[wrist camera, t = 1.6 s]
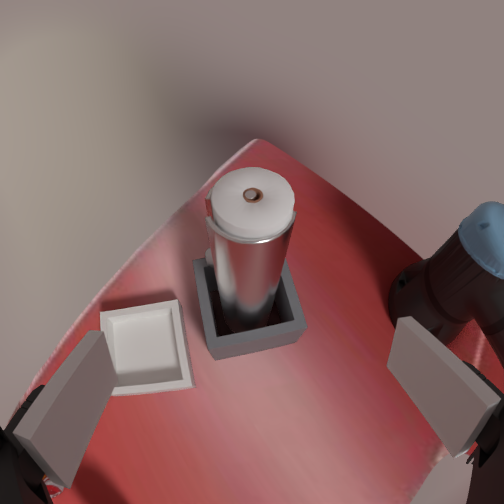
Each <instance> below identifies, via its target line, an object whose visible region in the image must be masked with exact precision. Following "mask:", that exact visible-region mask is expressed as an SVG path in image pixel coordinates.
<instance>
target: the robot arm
mask: <svg viewBox="0 0 504 504" xmlns="http://www.w3.org/2000/svg"><path fill="white" fill-rule="evenodd" d="M389 312H390V316H391V319H392V322H393V324H394V326H395V328H396V330H395V334H394V339H393V343H392V347H391V351H390V355H389V359H388V363H387V367H388V369H389V370H390V371H391V373H392V374H393V375H394V377H395V378H396V379H397V381H398V382H399V383H400V385H401V386H402V387H403V389H404V390H405V391H406V393H407V394H408V395H409V397H410V398H411V399H412V401H413V402H414V403H415V405H416V406H417V408H418V409H419V410H420V412H421V413H422V414H423V416H424V417H425V419H426V420H427V421H428V423H429V424H430V425H431V427H432V428H433V430H434V431H435V432H436V434H437V435H438V437H439V438H440V440H441V441H442V442H443V444H444V445H445V447H446V448H447V450H448V451H449V452H450V454H451V455H452V457H453V458H456V457H458V456H460V455H461V454H463V453H465V452H467V451H468V450H469V449H470V447H471V446H472V444H473V443H474V442H475V441H476V442H477V444H478V446H477V447H476V449H475V450H474V451H473V453H472V454H471V455H470V457H469V458H468V459H467V462H466V464H468V463H469V462H470V461H471V459H472V458H473V457H474V461H473V462H472V464H473V470H472V477H471V483H470V488H469V493H468V498H467V503H466V504H504V394H503V393H502V392H501V391H500V390H499V389H498V388H497V387H496V386H495V385H494V384H493V383H491V382H490V381H489V380H488V379H486V377H485V376H484V375H483V374H481V372H480V371H479V370H477V369H476V368H475V367H474V366H473V365H471V364H469V363H467V362H465V361H461V360H460V359H459V358H458V357H457V356H456V355H455V354H453V353H452V352H451V351H450V350H449V349H448V348H447V347H446V345H447V344H449V343H450V342H452V341H453V340H454V339H455V338H456V336H457V335H458V334H459V333H460V332H461V330H462V329H463V328H464V326H465V325H466V324H467V323H468V322H469V321H471V320H472V319H475V320H476V322H477V323H478V325H479V326H480V328H481V330H482V331H483V333H484V335H485V336H486V338H487V340H488V341H489V343H490V345H491V347H492V348H493V350H494V352H495V354H496V355H497V357H498V359H499V361H500V363H501V365H502V366H503V368H504V204H501V203H499V202H485V203H483V204H481V205H479V206H478V207H477V208H476V209H475V210H474V211H473V212H472V213H471V214H470V215H469V216H468V217H466V218H465V219H463V221H462V222H461V223H460V225H459V228H458V229H457V230H456V231H455V233H454V234H453V235H452V236H451V237H450V238H449V239H448V240H447V241H446V242H445V243H444V244H443V245H442V246H441V247H440V248H439V249H438V250H437V251H436V252H435V254H434V255H433V256H432V257H431V258H428V259H425V260H422V261H419V262H417V263H414V264H411V265H409V266H408V267H406V268H405V269H404V270H403V271H402V272H401V273H400V274H399V275H398V276H397V277H396V278H395V280H394V281H393V283H392V286H391V288H390V292H389ZM117 381H118V378H117V375H116V372H115V369H114V366H113V362H112V359H111V356H110V352H109V349H108V345H107V341H106V338H105V334H104V331H94V330H89V331H88V332H87V334H86V335H85V336H84V337H83V339H82V340H81V341H80V342H79V343H78V345H77V346H76V347H75V348H74V350H73V351H72V352H71V353H70V355H69V356H68V357H67V358H66V360H65V361H64V362H63V363H62V365H61V366H60V367H59V369H58V370H57V371H56V372H55V374H54V375H53V376H52V378H51V379H50V380H49V382H48V383H47V384H46V386H45V385H40V386H39V387H38V388H36V389H35V390H33V391H32V392H31V394H30V395H29V396H28V398H27V399H26V401H25V402H24V403H23V404H22V406H21V408H19V410H18V411H17V413H16V414H15V415H14V417H13V418H12V420H11V421H10V422H9V424H8V425H7V427H6V428H5V430H4V431H3V430H2V428H1V427H0V504H53V502H52V499H51V497H50V494H49V492H48V489H47V486H46V484H45V482H44V481H43V480H42V479H43V477H44V475H46V476H47V477H48V478H49V479H50V480H51V481H52V482H53V483H55V484H58V485H60V486H63V487H66V488H69V489H70V488H71V485H72V483H73V480H74V478H75V475H76V473H77V470H78V468H79V465H80V463H81V460H82V458H83V456H84V453H85V451H86V449H87V446H88V444H89V442H90V439H91V437H92V435H93V433H94V430H95V428H96V426H97V424H98V421H99V419H100V417H101V415H102V413H103V411H104V408H105V406H106V404H107V402H108V400H109V398H110V396H111V394H112V392H113V390H114V388H115V385H116V383H117Z"/></svg>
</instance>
